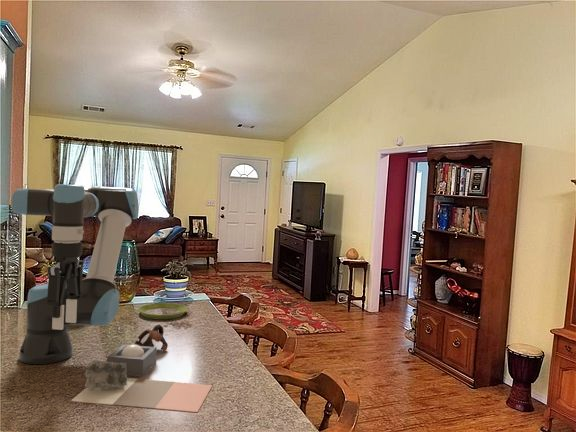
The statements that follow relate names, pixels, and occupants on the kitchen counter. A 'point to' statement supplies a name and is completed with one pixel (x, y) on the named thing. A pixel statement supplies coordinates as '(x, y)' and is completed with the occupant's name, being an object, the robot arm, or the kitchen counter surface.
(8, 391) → the kitchen counter surface
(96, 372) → the egg carton
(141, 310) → the saucer
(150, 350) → the housing
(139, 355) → the cream ball
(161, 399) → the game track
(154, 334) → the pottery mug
